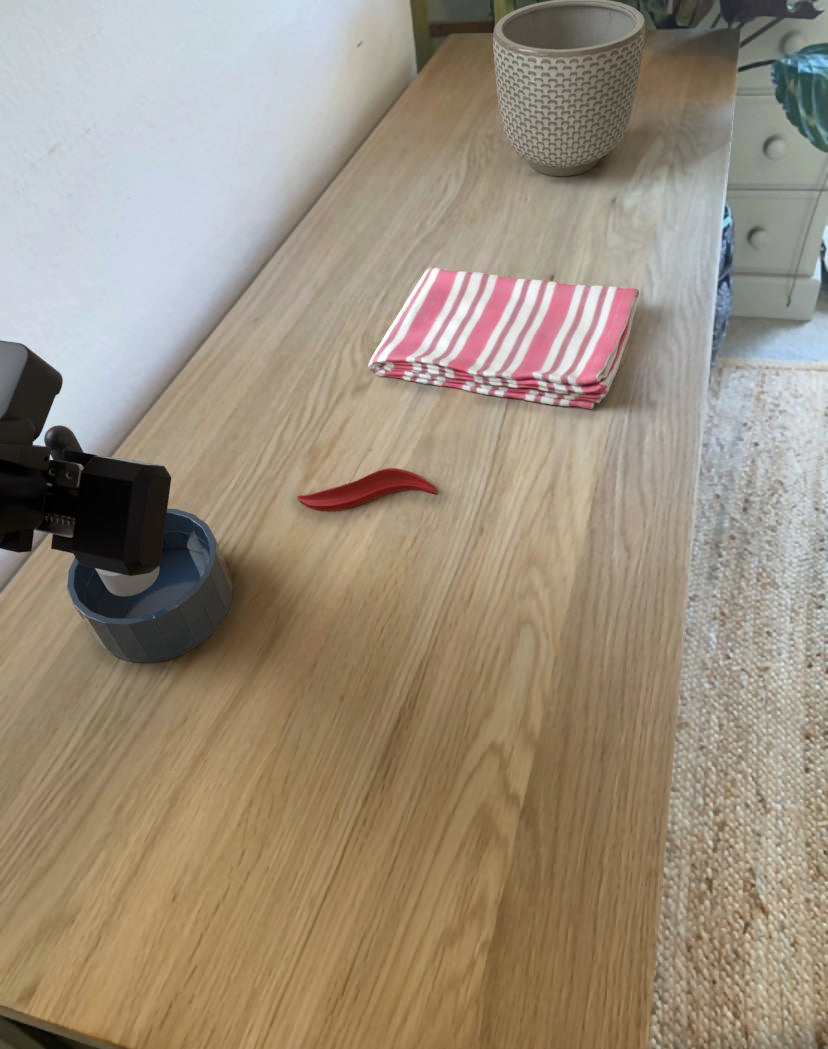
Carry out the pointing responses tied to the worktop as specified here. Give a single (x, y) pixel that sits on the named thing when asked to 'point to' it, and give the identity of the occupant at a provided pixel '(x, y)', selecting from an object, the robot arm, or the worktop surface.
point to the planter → (567, 80)
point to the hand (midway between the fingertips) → (107, 494)
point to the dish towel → (509, 337)
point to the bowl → (160, 597)
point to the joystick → (114, 582)
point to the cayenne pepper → (366, 490)
